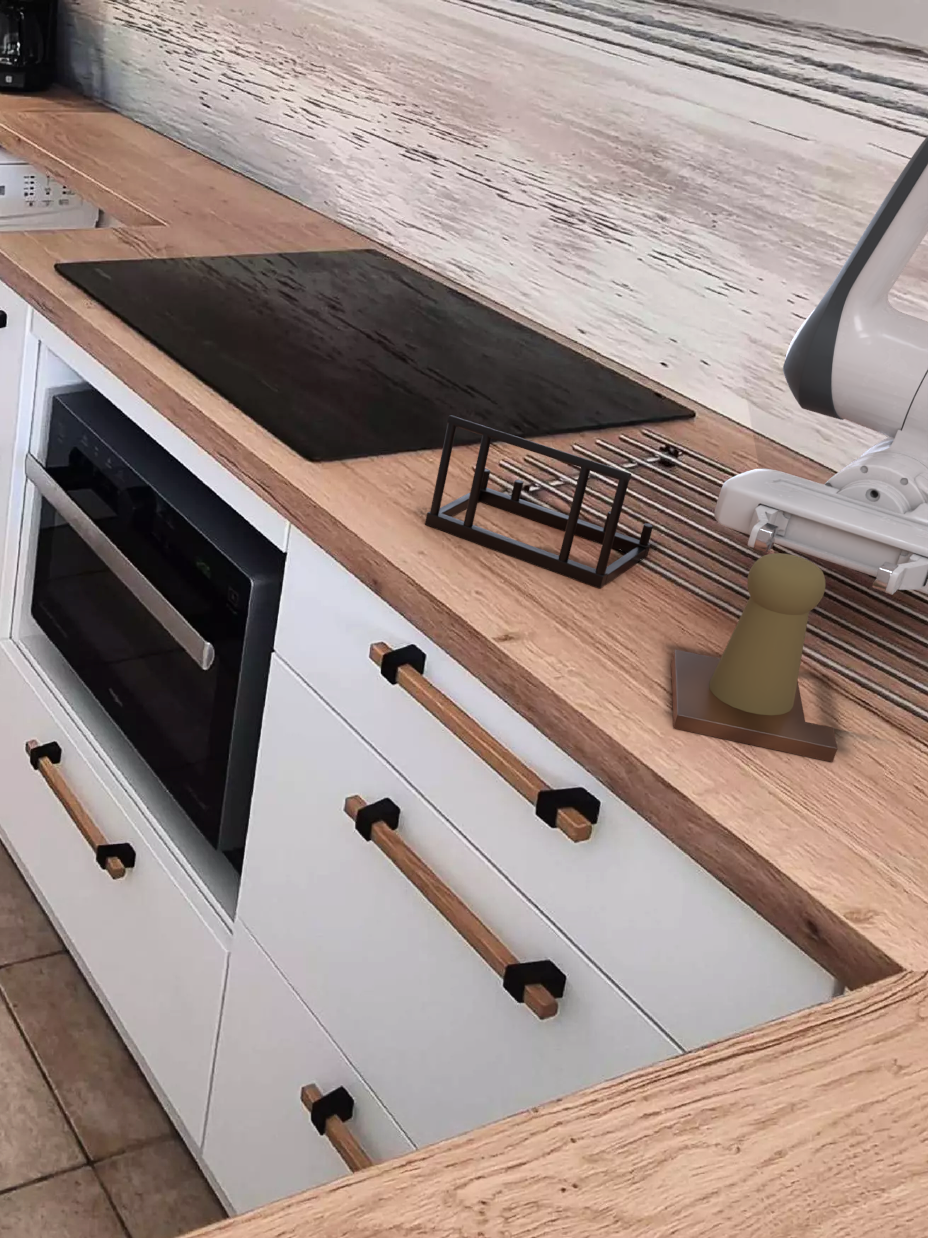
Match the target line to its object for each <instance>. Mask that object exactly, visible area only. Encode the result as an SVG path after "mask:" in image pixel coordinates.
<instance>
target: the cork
mask: <svg viewBox="0 0 928 1238" xmlns="http://www.w3.org/2000/svg"><path fill="white" fill-rule="evenodd" d="M746 585H747V591H748V594H749V598H748V600H747V602H746V604H745V606H744V608H743V610H742V613H741V615H740V616H739V619H738V620H737V623H736V625H735V628H734V629H733V631H732V633H731V636H730V638H729V640H728V642H727V644H726V647H725V648H724V650H723V652H722V655H721V657H720V661H719V663H718V665H717V667H716V669H715V671H714V674H713V676H712V678H711V680H710V682H709V689H710V690H711V692H712V693H713V695H715V696H716V697H717V698H718V699H720V700H721V701H722V702H724V703H726V704H728V705H730V706H732V707H734V708H737V709H740V710H743V711H746V712H750V713H755V714H760V715H781V714H784V713H787V712H789V711H790V710H791V709H792V708H793V705H794V699H795V693H796V687H797V681H798V682H799V675H800V670H801V669H800V667H801V662H802V657H803V651H804V645H805V639H806V632H807V626H808V621H809V615H810V612H811V611H812V610H813V609H815V608H816V607H817V606H818V604H819V603H820V602H821V601H822V600H823V598H824V596H825V595H824V594H825V591H826V578H825V574H824V571H823V570H822V569H821V568H820V567H819V566H818V565H817V564H816V563H814V562H812V561H811V560H809V559H806V558H804V557H802V556H797V555H794V554H789V553H780V552H775V553H768V554H765V555H762V556H760V557H759V558H758V559H757V560H756V561H755V562H753V564H752V566H751V567H750V569H749V571H748V575H747V584H746Z"/></svg>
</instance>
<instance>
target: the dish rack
mask: <svg viewBox="0 0 928 1238" xmlns="http://www.w3.org/2000/svg"><path fill="white" fill-rule="evenodd" d="M446 419H447V420H446V424H447V425H446V429H445V430H446V431H445V435H444V442H443V446H442V449H441V450H442V451H441V456H440V459H439V466H438V471H437V476H436V481H435V486H434V491H433V496H432V500H431V506H430V510H429V511H428V512H427V513H426V516H425V520H424V521H425V522H424V525H426V526H428V527H431V528H433V529H436V530H439V531H441V532H444V533H447V534H450V535H452V536H454V537H458V538H460V539H462V540H467V541H470V542H472V543H474V544H477V545H480V546H483V547H485V548H487V549H491V550H492V551H496V552H499V553H501V554H504V555H507V556H510V557H512V558H515V559H518V560H520V561H523V562H526V563H529V564H532V565H534V566H537V567H540V568H542V569H545V570H548V571H551V572H553V573H556V574H558V575H562V576H564V577H567V578H569V579H572V580H575V581H578V582H580V583H583V584H586V585H588V586H592V587H594V588H596V589H602V588H603V587H604V586H606V585H608V584H609V583H611V582H612V581H613V580H615V579H617V578H618V577H620V576H621V575H623V574H624V573H625V572H626V571H628V570H629V569H631V568H632V567H634V566H635V565H636V564H638V563H639V562H640V561H639V560H640V559H642V558H643V557H645V558H647V557H648V555H649V552H650V548H651V543H650V539H651V536H652V532H653V528H654V525H652V524H651V523H644V524H643V526H642V529H641V533H640V536H639V539H637V538H635V537H631V536H629V535H626V534H624V533H623V534H622V533H620V532H617V530H618V525H619V521H620V518H621V513H622V509H623V507H624V506H623V505H624V502H625V498H626V495H627V490H628V486H629V483H630V481H631V479H632V473H630V472H628V471H625V470H621V469H618V468H615V467H613V466H609V465H606V464H603V463H600V462H597V461H594V460H592V459H591V460H590V459H588V458H585V457H581V456H578V455H576V454H573V453H570V452H566V451H563V450H559V449H557V448H555V447H550V446H548V445H544V444H541V443H539V442H535V441H532V440H529V439H525V438H523V437H520V436H518V435H517V436H516V435H514V434H510V433H507V432H505V431H501V430H499V429H498V430H497V429H494V428H491V427H488V426H485V425H483V424H479V423H477V422H473V421H471V420H467V419H463V418H460V417H457V416H455V415H449V416H448V417H447V418H446ZM457 428H459V429H462V430H465V431H468V432H472V433H475V434H477V435H481V440H480V445H479V450H478V454H477V459H476V463H475V468H474V473H473V478H472V481H471V487H470V491H469V492H468V493H465V494H464V495H462V496H460V497H458V498H456V499H454V500H452V501H451V502H448V503H447V504H445V505H442V500H443V495H444V492H445V491H444V490H445V485H446V481H447V478H448V477H447V476H448V472H449V467H450V461H451V458H452V457H451V456H452V451H453V446H454V441H455V437H456V432H457ZM492 439H493V440H496V441H498V442H501V443H504V444H508V445H511V446H514V447H516V448H520V449H523V450H526V451H529V452H532V453H535V454H538V455H541V456H545V457H548V458H550V459H553V460H557V461H560V462H563V463H566V464H569V465H572V466H575V467H578V468H580V469H579V473H578V477H577V482H576V486H575V489H574V494H573V498H572V500H571V501H572V502H571V505H570V510H569V514H566V513H562V512H559V511H557V510H553V509H550V508H548V507H545V506H542V505H538V504H536V503H533V502H530V501H527V500H524V499H521V494H522V490H523V486H524V480H521V479H515V480H514V481H513V487H512V491H511V494H510V495H509V494H508V493H504V492H502V491H498V490H495V489H492V488H489V487H488V484H489V479H490V475H491V470H490V469H488V468H486V465H487V462H488V456H489V451H490V448H491V447H490V446H491V442H492ZM591 472H593V473H597V474H600V475H603V476H606V477H609V478H611V479H615V480H618V481H617V485H616V489H615V493H614V497H613V501H612V504H611V505H612V506H611V509H610V510H609V511H607V514H606V516H605V517H606V519H605V521H604V525H603V527H602V526H600V525H597V524H594V523H591V522H588V521H585V520H582V519H580V518H579V517H580V514H581V509H582V505H583V501H584V498H585V493H586V490H587V485H588V481H589V478H590V474H591ZM480 502H481V503H483V504H486V505H489V506H491V507H494V508H498V509H500V510H503V511H506V512H509V513H512V514H513V515H514V514H515V515H517V516H520V517H523V518H526V519H529V520H532V521H534V522H537V523H540V524H543V525H546V526H548V527H552V528H554V529H558V530H560V531H562V532H564V534H563V535H564V536H563V538H562V543H561V546H560V551H559V555H558V554H555V553H553V552H551V551H548V550H544V549H541V548H539V547H536V546H533V545H530V544H528V543H525V542H522V541H520V540H516V539H514V538H511V537H509V536H505V535H503V534H500V533H497V532H495V531H492V530H489V529H486V528H483V527H480V526H478V525H475V524H474V521H475V516H476V512H477V509H478V508H477V507H478V504H479V503H480ZM441 505H442V506H441ZM465 510H466V512H465V516H464V520H461V519H458V518H455V517H454V516H456V515H458V514H460V513H462V512H463V511H465ZM575 536H577V537H579V538H583V539H585V540H589V541H591V542H594V543H596V544H600V545H601V548H600V552H599V556H598V560H597V563H596V567H595V568H594V567H591V566H589V565H586V564H583V563H581V562H578V561H576V560H575V561H574V560H572V559H570V554H571V550H572V547H573V542H574V538H575ZM612 549H614V550H617V549H621V550H622V551H621V552H623V551H624V552H623V553H625V552H628V553H625V554H624V555H622V556H621V557H619V558H618V559H617V560H615V561H613V562H612V563H610V564H609V560H610V556H611V552H612ZM646 556H647V557H646ZM642 560H643V559H642ZM638 561H639V562H638ZM608 564H609V565H608Z"/></svg>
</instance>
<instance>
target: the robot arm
mask: <svg viewBox="0 0 928 1238" xmlns="http://www.w3.org/2000/svg"><path fill="white" fill-rule="evenodd" d="M927 234H928V135H927V136H926V137H925V138H924V139H923V141H922V142H921V144H920V145H919V146H918V148H917V149H916V150H915V152H914V153H913V155H912V156H911V158H910V160H909V161H908V162H907V164H906V165H905V166H904V168H903V170H901V173H900V174H899V176H898V177H897V179H896V181H895V182H894V184H893V185H892V187H891V188H890V189H889V191H888V192H887V194H886V196H885V197H884V199H883V201H882V202H881V204H880V206H879V207H878V209H877V210H876V211H875V214H874V215H873V217H872V218H871V220H870V222H869V223H868V225H867V227H866V228H865V230H864V232H863V233H862V235H861V236H860V238H859V240H858V241H857V243H856V244H855V245H854V248H853V249H852V251H851V252H850V253H849V256H848V258H847V259H846V260H845V262H844V264H843V265H842V267H841V269H840V270H839V272H838V273H837V276H836V277H835V279H834V280H833V281H832V283H831V285H830V286H829V288H828V289H827V291H826V292H825V294H824V295H823V297H822V298H821V300H820V301H819V303H818V304H817V305H816V307H815V308H814V309H813V310H812V311H811V313H810V314H809V315H808V316H807V317H806V319H805V320H803V322H802V323H801V325H800V327H799V328H798V330H797V331H796V333H795V334H794V336H793V337H792V339H791V341H790V344H789V345H788V349H787V351H786V355H785V359H784V363H783V366H782V372H783V376H784V379H785V381H786V383H787V386H788V388H789V390H790V392H791V394H792V395H793V398H794V399H795V401H796V402H797V403H798V405H799V407H800V408H801V409H803V410H805V411H809V412H812V413H816V414H819V415H822V416H826V417H830V418H834V419H837V420H840V421H844V420H845V421H848V422H851V423H853V424H856V425H857V426H861V427H863V428H866V429H868V430H871V431H874V432H875V433H879V434H882V435H885V436H887V437H885V438H884V439H882V440H881V441H879V442H877V443H876V444H874V445H872V446H871V447H869V448H868V449H867V450H866V451H865V452H863V453H862V454H861V455H860V456H859V457H857V458H856V459H854V460H852V461H851V462H849V464H847V465H846V466H844V467H843V468H842V469H840V470H839V471H838V472H837V473H835V474H834V475H833V476H832V477H829V479H828V480H827V481H826V482H825V483H824V484H823V483H821V482H816V481H814V480H810V479H807V478H805V477H800V476H797V475H794V474H791V473H787V472H784V471H781V470H777V469H772V468H755V469H750V470H747V471H744V472H741V473H739V474H737V475H734V476H733V477H730V478H728V479H727V480H726V481H724V482H723V484H722V485H721V487H720V491H719V494H718V497H717V500H716V504H715V507H714V508H715V509H714V514H713V516H714V519H715V521H716V522H717V523H718V524H719V525H720V526H722V527H724V528H727V529H731V530H733V531H736V532H738V533H743V534H745V535H748V536H749V538H748V541H747V547H749V548H752V549H755V550H759V551H762V552H765V553H768V552H769V551H771V550H772V549H773V547H774V545H779V546H782V547H784V548H787V549H790V550H793V551H796V552H799V553H802V554H805V555H809V556H812V557H814V558H818V559H820V560H823V561H826V562H830V563H832V564H835V565H839V566H842V567H843V568H848V569H851V570H854V571H857V572H860V573H862V574H865V575H869V576H872V577H875V580H874V581H873V583H872V586H871V587H872V589H874V590H877V591H880V592H882V593H886V594H889V595H894V594H895V593H896V592H897V591H898V590H899V591H908V590H909V591H911V590H912V591H917V592H919V593H923V594H926V595H928V320H925V319H923V318H919V317H916V316H913V315H910V314H908V313H905V312H902V311H899V310H898V309H896V308H895V307H893V305H891V303H890V301H889V293H890V291H891V290H892V289H893V287H894V285H895V284H896V282H898V281H897V280H898V279H899V277H900V276H901V274H902V273H903V271H904V270H905V268H906V267H907V265H908V263H909V262H910V260H911V259H912V257H913V256H914V254H915V252H916V251H917V250H918V248H919V246H920V245H921V243H922V242H923V240H924V239H925V237H926V236H927Z"/></svg>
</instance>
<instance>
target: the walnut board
mask: <svg viewBox="0 0 928 1238" xmlns="http://www.w3.org/2000/svg"><path fill="white" fill-rule="evenodd" d="M720 659H721V657H716V656H711V655H705V654H701V653H695V652H690V651H687V650H681V649H674V651H673V654H672V658H671V660H670V663H671V664H670V665H671V691H672V692H671V693H672V696H671V697H672V718H673V720H672V722H673V723H672V724H673V729H676V730H681V731H685V732H690V733H694V734H699V735H703V736H709V737H712V738H716V739H717V738H718V739H722V740H727V741H732V742H737V743H740V744H745V745H750V746H755V747H759V748H764V749H769V750H774V751H778V752H783V753H788V754H792V755H797V756H802V757H807V758H811V759H816V760H820V761H825V762H830V763H834V761H835V758H836V754H837V752H838V744H837V739H836V735H835V729H834V727H832V726H828V725H822V724H818V723H812V722H808V721H806V717H805V712H804V707H803V700H802V696H801V690H800V686H799V685H800V684H799V680H798V681H797V687H796V693H795V699H794V705H793V708H792V709H791V710H790V711H789V712H787V713H784V714H781V715H760V714H755V713H750V712H746V711H743V710H740V709H737V708H734V707H732V706H730V705H728V704H726V703H724V702H722V701H721V700H720V699H718V698H717V697H716V696H715V695H713V693H712V692H711V690H710V689H709V682H710V680H711V678H712V676H713V674H714V671H715V669H716V667H717V665H718V663H719V661H720Z"/></svg>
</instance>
